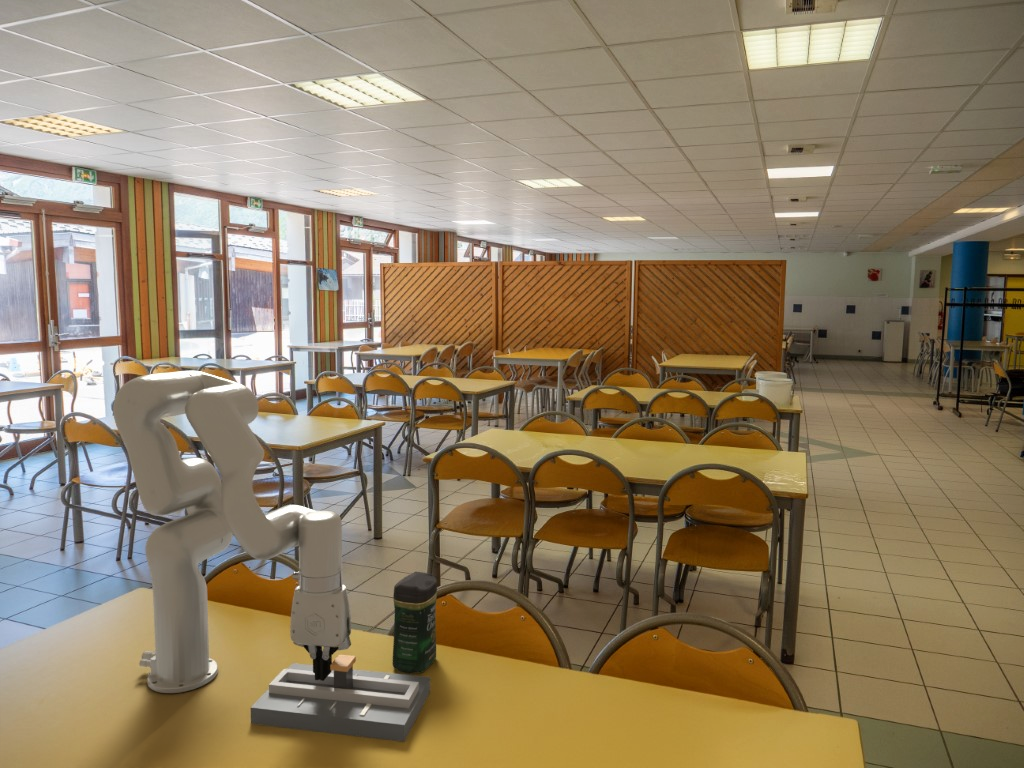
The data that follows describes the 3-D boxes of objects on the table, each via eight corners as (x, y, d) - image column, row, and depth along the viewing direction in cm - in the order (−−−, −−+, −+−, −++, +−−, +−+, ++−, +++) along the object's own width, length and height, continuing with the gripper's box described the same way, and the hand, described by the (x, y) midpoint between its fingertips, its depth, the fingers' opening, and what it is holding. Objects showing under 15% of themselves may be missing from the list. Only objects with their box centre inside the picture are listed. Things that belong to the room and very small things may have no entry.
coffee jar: (423, 678, 141) (423, 588, 140) (387, 671, 144) (387, 583, 142) (442, 656, 151) (442, 571, 149) (407, 650, 153) (408, 566, 151)
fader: (330, 696, 129) (330, 664, 128) (339, 685, 133) (339, 654, 132) (347, 698, 128) (347, 666, 128) (355, 686, 132) (355, 655, 132)
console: (250, 723, 125) (250, 698, 125) (292, 677, 141) (292, 655, 140) (404, 741, 121) (404, 716, 120) (430, 692, 136) (430, 669, 136)
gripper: (272, 585, 126) (274, 683, 128) (352, 591, 124) (353, 691, 126) (291, 570, 134) (293, 663, 136) (367, 575, 131) (368, 670, 133)
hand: (322, 676), depth 131 cm, fingers closed
